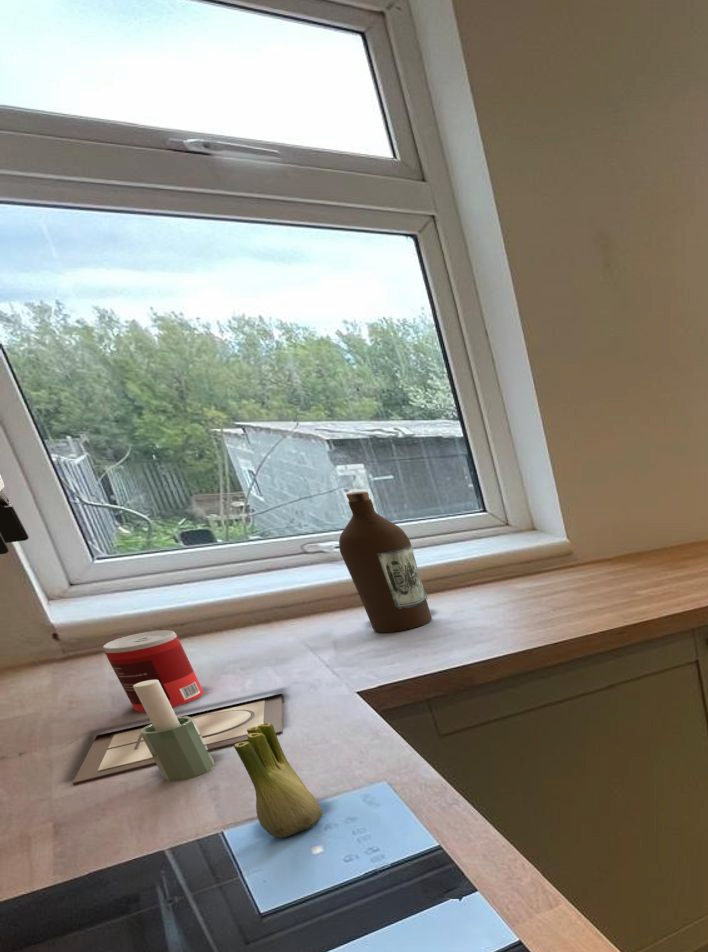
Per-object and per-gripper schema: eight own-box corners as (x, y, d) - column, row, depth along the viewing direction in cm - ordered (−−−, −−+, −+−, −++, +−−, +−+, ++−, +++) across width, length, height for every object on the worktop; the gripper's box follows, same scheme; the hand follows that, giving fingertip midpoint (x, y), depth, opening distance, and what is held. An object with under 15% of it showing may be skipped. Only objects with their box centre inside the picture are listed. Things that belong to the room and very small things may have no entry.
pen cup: (165, 788, 98) (138, 736, 95) (168, 774, 101) (142, 724, 98) (215, 775, 100) (190, 724, 98) (217, 762, 104) (193, 713, 101)
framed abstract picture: (75, 788, 99) (70, 781, 98) (99, 740, 112) (95, 733, 111) (284, 736, 110) (281, 729, 110) (283, 697, 123) (281, 691, 123)
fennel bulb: (289, 846, 85) (241, 744, 80) (250, 843, 86) (201, 742, 81) (339, 815, 90) (297, 718, 85) (302, 813, 91) (259, 717, 86)
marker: (177, 777, 99) (131, 688, 94) (179, 771, 101) (133, 683, 96) (201, 771, 100) (157, 682, 96) (202, 765, 102) (159, 677, 97)
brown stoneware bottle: (355, 633, 151) (304, 498, 141) (403, 615, 161) (358, 487, 151) (403, 634, 149) (354, 498, 139) (449, 616, 159) (406, 487, 149)
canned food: (206, 692, 126) (174, 626, 122) (208, 706, 121) (175, 637, 117) (138, 708, 122) (102, 640, 117) (137, 723, 116) (100, 652, 112)
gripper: (-112, 392, 91) (-28, 543, 98) (-174, 396, 78) (-74, 568, 85) (-12, 387, 95) (61, 532, 102) (-57, 390, 83) (30, 554, 89)
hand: (0, 548), depth 94 cm, fingers open, 9 cm apart
